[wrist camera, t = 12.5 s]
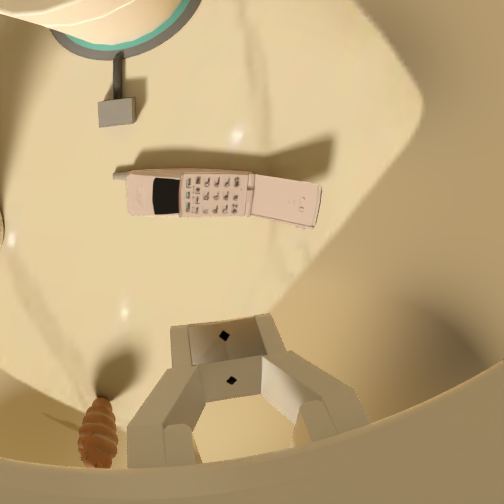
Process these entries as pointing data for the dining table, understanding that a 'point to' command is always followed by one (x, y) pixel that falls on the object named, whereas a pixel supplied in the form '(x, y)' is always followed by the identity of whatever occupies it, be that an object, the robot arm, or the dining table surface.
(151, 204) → the mobile phone
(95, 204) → the dining table surface
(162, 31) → the charging mat
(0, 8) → the canister
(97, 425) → the brown ribbed oblong piece
